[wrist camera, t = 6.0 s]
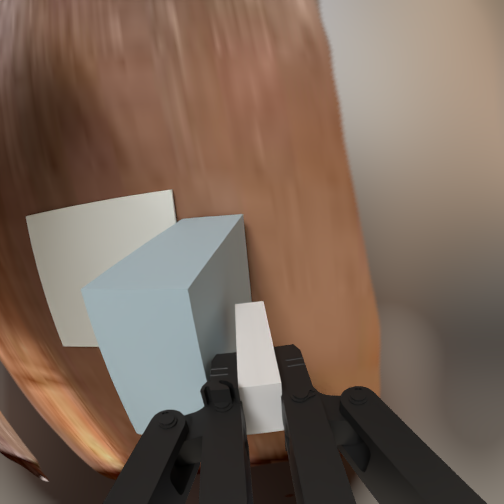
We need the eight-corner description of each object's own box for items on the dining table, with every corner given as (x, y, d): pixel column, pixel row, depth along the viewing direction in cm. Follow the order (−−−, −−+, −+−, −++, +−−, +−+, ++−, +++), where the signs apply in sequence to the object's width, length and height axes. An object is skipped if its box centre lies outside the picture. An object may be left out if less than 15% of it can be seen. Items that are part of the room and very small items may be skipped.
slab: (198, 317, 28) (136, 433, 14) (182, 218, 25) (80, 289, 12) (253, 316, 27) (223, 445, 14) (242, 214, 24) (187, 288, 11)
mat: (64, 344, 28) (63, 346, 27) (27, 215, 24) (25, 216, 23) (197, 340, 28) (197, 343, 28) (172, 189, 24) (171, 189, 24)
